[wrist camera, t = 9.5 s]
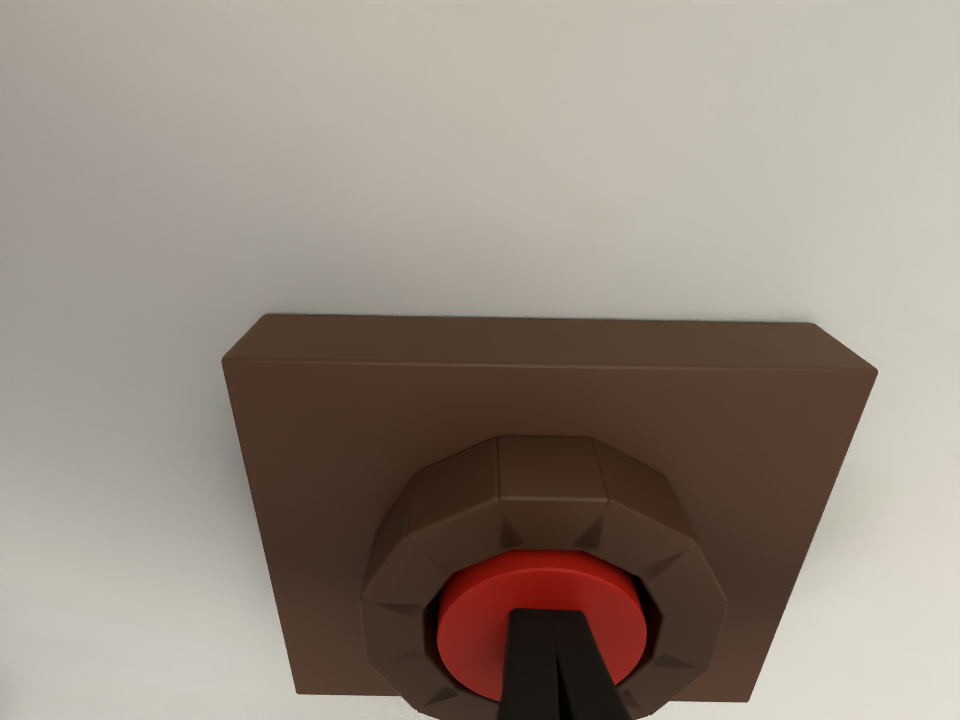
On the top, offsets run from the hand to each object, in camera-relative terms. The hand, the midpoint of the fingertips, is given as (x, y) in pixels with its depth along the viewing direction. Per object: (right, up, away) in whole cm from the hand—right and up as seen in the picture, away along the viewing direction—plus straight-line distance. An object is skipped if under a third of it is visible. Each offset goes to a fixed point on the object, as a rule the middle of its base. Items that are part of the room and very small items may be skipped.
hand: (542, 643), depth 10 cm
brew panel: (0, +2, +4) cm, 4 cm away
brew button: (0, +1, +2) cm, 2 cm away
